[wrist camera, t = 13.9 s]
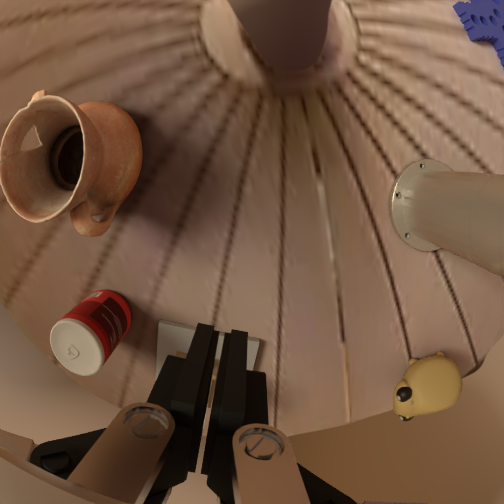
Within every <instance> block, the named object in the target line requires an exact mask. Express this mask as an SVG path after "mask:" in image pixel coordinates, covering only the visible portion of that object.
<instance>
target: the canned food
mask: <svg viewBox="0 0 504 504" xmlns="http://www.w3.org/2000/svg"><path fill="white" fill-rule="evenodd" d="M130 325H131V310H130V307H129V305H128V304H127V302H126V301H125V299H124V298H123V297H122V296H121V295H119V294H118V293H116V292H114V291H111V290H99V291H96V292H94V293H92V294H91V295H90V296H88V297H87V298H86V299H85V300H83V301H82V302H81V303H80V304H78V305H77V306H76V307H75V308H73V309H72V310H71V311H70V312H69V313H67V314H66V315H65V316H64V317H63V318H62V319H61V320H59V321H58V322H57V323H56V324H55V326H54V327H53V328H52V330H51V334H50V343H51V347H52V350H53V352H54V354H55V356H56V357H57V359H58V360H59V361H60V363H61V364H62V365H63V366H64V367H66V368H67V369H68V370H70V371H71V372H73V373H75V374H78V375H83V376H90V375H93V374H95V373H96V372H98V370H100V369H101V367H102V366H103V365H104V363H105V362H106V361H107V359H108V358H109V356H110V355H111V354H112V352H113V351H114V349H115V348H116V347H117V345H118V344H119V343H120V341H121V340H122V338H123V337H124V336H125V334H126V333H127V332H128V330H129V328H130Z"/></svg>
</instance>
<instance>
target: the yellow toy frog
mask: <svg viewBox="0 0 504 504" xmlns="http://www.w3.org/2000/svg"><path fill="white" fill-rule="evenodd" d="M461 391H462V376H461V372H460V370H459V368H458V366H457V365H456V363H455V362H454V361H452V360H451V359H450V358H448V357H445V356H444V354H443V353H442V352H437V353H436V355H431V356H427V357H424V358H422V359H419V360H417V359H415V358H412V359H410V361H409V368H408V369H407V370H406V372H405V374H404V376H403V378H402V380H401V381H400V382H399V383H398V384H397V386H396V388H395V390H394V395H393V406H394V411H395V413H396V414H397V415H399V417H400V419H401V420H403V421H409V420H411V419H412V418H413V417H414V416H416V415H424V414H430V413H434V412H438V411H441V410H444V409H447V408H450V407H452V406H453V405H455V404H456V403H457V401H458V400H459V397H460V395H461Z"/></svg>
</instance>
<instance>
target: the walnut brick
mask: <svg viewBox="0 0 504 504" xmlns="http://www.w3.org/2000/svg"><path fill="white" fill-rule="evenodd" d="M176 356H177V357H181V358H186V356H187V353H184V352H179V351H177V353H176ZM218 362H219V359H215V363H214V369H213V375H212V384H211V389H210V395H209V401H208V406H207V407H209V408H211V402H212V396H213V391H214V385H215V379H216V373H217V368H218Z"/></svg>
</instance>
